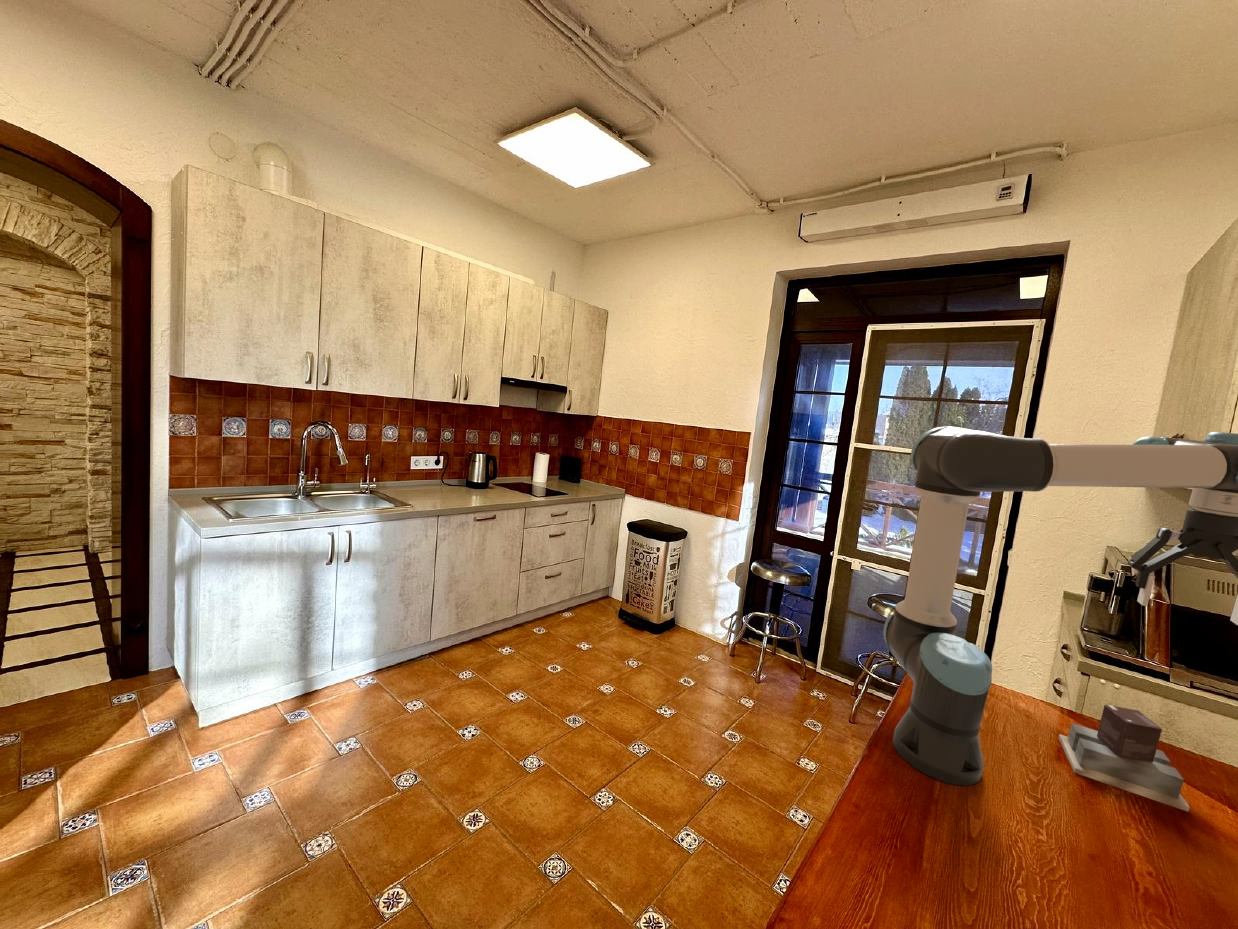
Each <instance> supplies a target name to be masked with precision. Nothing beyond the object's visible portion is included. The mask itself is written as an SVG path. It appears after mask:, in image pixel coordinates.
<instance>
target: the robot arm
mask: <svg viewBox="0 0 1238 929" xmlns="http://www.w3.org/2000/svg"><path fill="white" fill-rule="evenodd" d="M911 448H912V449H911V452H910V461H911V463H912V466H913V467H914V470H915V471H916V475H915V482H914V489H915V490H916V491H917V492H918V493H919V495H920V502H919V509H918V516H917V521H916V527H915V528H916V529H915V534H914V540H913V546H912V552H911V558H910V565H909V570H908V578H907V583H906V589H905V597H904V599H903V600H902V601H900V602H898V603H896V604H895V608H894V612H893V614H891V615H890V614H889V616H887V618H886V620H885V623H884V625H883V637H884V638H883V639H884V641H885V644H886V646H887V648H888V650H889V652H890V653H891V655H892V656H893V657H894V658H895V660H896V661H897V662H898V664H900V666H901V667H902V668H903V670H904V672H906V673H907V675H908V676H909V678H910V679H911V680H912V682H913V686H912V692H911V697H910V703H909V706H908V708H907V710H906V712H905V713H904V715H903V716H902V717H901V718H900V720H899V721H898V723H897V725H896V726H895V728H894V729H893V730H894V731H893V735H892V736H893V737H892V744H893V746H894V749H895V750H896V752H897V753H898V754H899V755H900V757H901V758H902V759H904V761H906V762H907V763H908V764H910V765H911V766H912V767H913V768H915V769H916V770H918V771H920V772H921V773H923V774H925V775H927V776H929V777H931V778H933V779H935V780H938V781H941V782H943V783H944V782H945V783H947V784H951V785H956V786H971V785H974V784H977V783H979V782H980V780H981V779H982V775H983V771H984V760H983V755H982V754H983V753H982V749H981V748H982V747H981V742H980V736H979V733H980V728H981V725H982V720H983V716H984V713H985V708H986V704H987V699H988V696H989V695H988V694H989V691H990V688H991V686H992V681H993V679H992V677H993V664H992V662H991V659H990V658H989V656H988V655H987V654H986V653H985V652H984V651H983V650H982V649H981V648H980V647H978V646H977V645H975V644H974V643H973V642H968V641H967V639H964V638H962V637H959V636H956V632H957V631H956V629H957V624H958V619H957V618H956V617H955V616H954V614H953V613H952V612H951V610H952V609H951V608H952V607H951V606H952V603H953V597H954V593H955V592H954V591H955V586H956V579H957V573H958V569H959V568H958V567H959V563H960V557H961V553H962V552H961V551H962V547H963V546H962V545H963V542H964V541H963V540H964V535H965V530H966V522H967V517H968V512H969V506H970V503H972V502H974V500H976V499H979V497H980V496H981V493H982V492H983V493H992V492H993V493H996V492H997V493H1000V492H1004V493H1005V492H1033V493H1034V492H1035V493H1036V492H1042V491H1044V490H1045V489H1046V488H1048V487H1087V488H1088V487H1093V488H1094V487H1095V488H1097V487H1099V488H1101V487H1103V488H1157V489H1158V488H1160V489H1161V488H1163V489H1164V488H1165V489H1167V488H1168V489H1169V488H1173V489H1174V488H1175V489H1176V488H1177V489H1192V491H1191V495H1190V497H1189V500H1188V505H1189V506H1190V508H1188V509H1186V514H1185V516H1184V520H1183V523H1182V528H1181V529H1180V531H1175V530H1171V529H1169V528H1166V527H1165V526H1163V527H1162V526H1161V527H1158V530H1157V533H1156V534H1155V537H1154V538H1152V539H1151V540H1150V541H1149V542H1148V543H1146V545H1145V546H1143V547H1142V549H1140V550H1139V551H1138V552H1137V553H1136V554H1135V555H1134V556H1132V557H1131V558H1130V560H1128V561H1127V565H1128V566H1130V568H1132V569H1133V570H1137V575H1136V579H1135V586H1136V587H1138V588H1139V593H1138V595H1137V600H1136V602H1138V603H1139V604H1140V605H1141V606H1142V607H1143V606H1145V607H1148V604H1149V601H1150V596H1151V592H1152V591H1153V590H1152V589H1153V586H1154V582H1155V578H1156V576H1155V575H1154V574H1153V573H1154V572H1155V571H1158V570H1159V569H1162V568H1163V567H1165V566H1167V565H1169V564H1171V563H1173V562H1175V561H1177V560H1179V559H1181V558H1184V557H1187V556H1190V555H1192V556H1194V557H1198V558H1207V559H1210V560H1215V561H1218V560H1221V561H1223V563H1224V564H1225V565H1226V566H1227V568H1228V569H1229V570H1230V571H1231V572H1232V574H1233V575H1234V577H1236V579H1238V559H1237V558H1236V556H1235V555H1234V554H1233V553H1234V552H1236V551H1237V550H1238V433H1234V432H1222V431H1212V432H1209V433H1207V436H1206V438H1205V440H1196V439H1186V438H1176V437H1175V438H1174V437H1168V436H1167V437H1166V436H1143V437H1140V438H1139V439H1137V440H1136V441H1134V442H1133V443H1132V444H1103V443H1102V444H1100V443H1099V444H1095V443H1094V444H1090V443H1089V444H1088V443H1087V444H1086V443H1085V444H1084V443H1083V444H1081V443H1080V444H1078V443H1076V444H1075V443H1073V444H1072V443H1071V444H1070V443H1067V444H1066V443H1065V444H1062V443H1049V442H1047V441H1046V440H1045V439H1043V438H1039V437H1038V438H1037V437H1036V438H1030V437H1027V438H1026V437H1018V436H1017V437H1016V436H1010V435H1009V436H1007V435H1004V434H998V433H993V432H989V431H984V430H976V429H970V428H963V427H959V426H955V425H954V426H940V427H939V426H938V427H934V428H932V429H929V430H927V431H926V432H924V433H922V434H921V435H920V436H919V437H918V438H917V439H916V440H915V442H914V443H913V446H912V447H911ZM1176 538H1177V539H1178V541H1179V543H1178V544H1176V545H1175V546H1173V547H1171V549H1169V550H1167V551H1165V552H1164V553H1162V554H1159V555H1158V556H1155V555H1156V554H1157V553H1158V552H1159V551H1160V550H1161V549H1163V547H1164V546H1165V545H1167V544H1168V543H1169V541H1173V540H1174V539H1176ZM1153 556H1155V557H1154V558H1152V557H1153ZM1151 558H1152V559H1151ZM1234 602H1235V603H1234V606H1233V610H1232V613H1231V616H1230V619H1229V620H1230V622H1232V623H1234V625H1236V626H1238V594H1237V596H1236V600H1235V601H1234Z"/></svg>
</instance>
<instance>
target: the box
mask: <svg viewBox="0 0 1238 929" xmlns="http://www.w3.org/2000/svg"><path fill="white" fill-rule="evenodd" d="M1097 731H1098V734H1097V737H1098V738H1099V739H1100V740H1102V741H1103V742H1104V743H1105V744H1106V745H1107V746H1108V747H1109V748H1110V749H1111V750H1112V751H1114V752H1115V753H1116V754H1117V755H1118V756H1122V757H1126V758H1132V759H1137V760H1142V761H1146V762H1153V761H1154V757H1155V753H1156V750H1158V747H1159V742H1160V739H1161V734H1162V731H1163V729H1162V727H1160V726H1159V725H1158V724H1156V722H1154V721H1153V720H1151V719H1150V718H1149V717H1148V716H1146V715H1145V714H1143V713H1142V712H1141V711H1139V710H1138V709H1137V710H1136V709H1132V708H1126V707H1120V706H1116V705H1111V704H1110V705H1109V704H1104V705H1103V709H1102V714H1101V718H1100V722H1099V726H1098V730H1097Z"/></svg>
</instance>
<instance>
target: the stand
mask: <svg viewBox="0 0 1238 929" xmlns="http://www.w3.org/2000/svg"><path fill="white" fill-rule="evenodd" d="M1097 734H1098V730H1096V729H1092V728H1089V727H1087V726H1086V727H1085V726H1083V725H1079V724H1077V723H1073V722H1071V724H1070V728H1069V731H1068V735H1063V734H1061V733H1059V734H1058V740H1059V743H1060V745H1061V747H1062V749H1063V751H1064V753H1065V755H1066V757H1067V760H1068V763H1069V764H1070V766H1071V768H1072V771H1073V773H1075V774H1078V775H1080V776H1083V777H1087V778H1088V779H1093V780H1094V781H1099V783H1100V782H1101V783H1103V784H1106V785H1109V786H1113V787H1115V788H1118V789H1121V790H1124V791H1126V792H1129V793H1132V794H1136V795H1138V796H1141V797H1144V798H1147V799H1150V800H1153V801H1156V802H1158V803H1160V804H1161V803H1162V804H1165V805H1166V806H1170V807H1173V808H1176V809H1179V810H1181V811H1185V812H1188V813H1189V812H1190V806H1189V804H1188V802H1187V801H1186V800H1185V798H1184V796H1182V794H1181V791H1182V787H1183V784H1184V781H1185V780H1184V778H1183V777H1182V775H1181V774H1180V772H1179V771H1178V770H1177V769H1176V767H1173V766H1170V765H1171V761H1170V758H1169V757H1168V756H1167V754H1165V752H1164V751H1163V750H1160V749H1157V750H1156V753H1155V757H1154V761H1153V762H1146V761H1142V760H1137V759H1132V758H1126V757H1122V756H1118V755H1117V754H1116V753H1115V752H1114V751H1112V750H1111V749H1110V748H1109V747H1108V746H1107V745H1106V744H1105V743H1104V742H1103V741H1102V740H1100V739H1099V738H1098V737H1097Z"/></svg>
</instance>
